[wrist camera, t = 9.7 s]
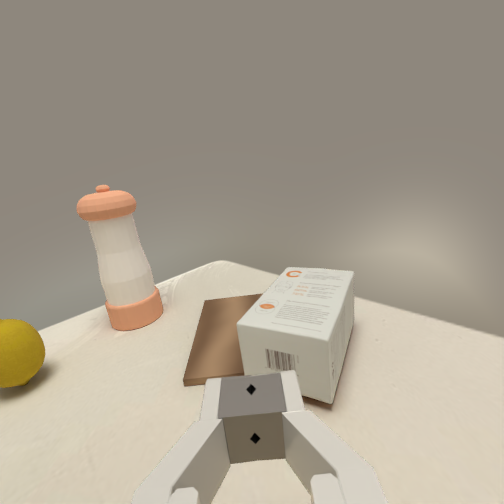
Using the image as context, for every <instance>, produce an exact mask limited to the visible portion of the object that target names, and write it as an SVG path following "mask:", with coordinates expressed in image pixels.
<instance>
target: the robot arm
mask: <svg viewBox="0 0 504 504" xmlns="http://www.w3.org/2000/svg"><path fill="white" fill-rule="evenodd" d="M273 459H286V461H287V463H288V464H289V465H290V467H291V468H292V470H293V471H294V472H295V474H296V475H297V477H298V478H299V480H300V481H301V482H302V484H303V485H304V487H305V488H306V490H307V491H308V492H309V494H310V495H311V504H389V503H388V501H387V498H386V496H385V494H384V491H383V489H382V487H381V484H380V482H379V479H378V477H377V475H376V472H375V470H374V468H373V467H372V466H371V465H370V464H369V463H368V462H367V461H366V460H364V459H363V458H362V457H361V456H360V455H359V454H358V453H357V452H356V451H355V450H354V449H352V448H351V447H350V446H349V445H348V444H347V443H346V442H345V441H344V440H343V439H341V438H340V437H339V436H338V435H337V434H336V433H335V432H334V431H333V430H332V429H331V428H329V427H328V426H327V425H326V424H325V423H324V422H323V421H322V420H321V419H320V418H318V417H317V416H316V415H315V414H314V413H313V412H312V411H311V410H305V407H304V403H303V399H302V395H301V391H300V387H299V383H298V379H297V375H296V372H295V370H289V371H281V372H274V373H265V374H256V375H245V376H232V377H222V378H210V379H207V381H206V383H205V389H204V395H203V401H202V407H201V413H200V418H199V421H194V423H193V424H192V425H191V426H190V427H189V428H188V430H187V431H186V432H185V433H184V434H183V435H182V437H181V438H180V439H179V440H178V441H177V442H176V444H175V445H174V446H173V447H172V448H171V449H170V451H169V452H168V453H167V454H166V455H165V456H164V458H163V459H162V460H161V461H160V462H159V463H158V465H157V466H156V467H155V468H154V469H153V470H152V472H151V473H150V474H149V475H148V476H147V477H146V479H145V480H144V481H143V482H142V483H141V484H140V486H139V487H138V488H137V489H136V490H135V492H134V495H133V498H132V501H131V504H211V502H212V501H213V499H214V497H215V495H216V493H217V491H218V489H219V487H220V485H221V483H222V482H223V480H224V478H225V476H226V474H227V472H228V470H229V468H230V464H235V463H243V462H250V461H258V460H273Z"/></svg>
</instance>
